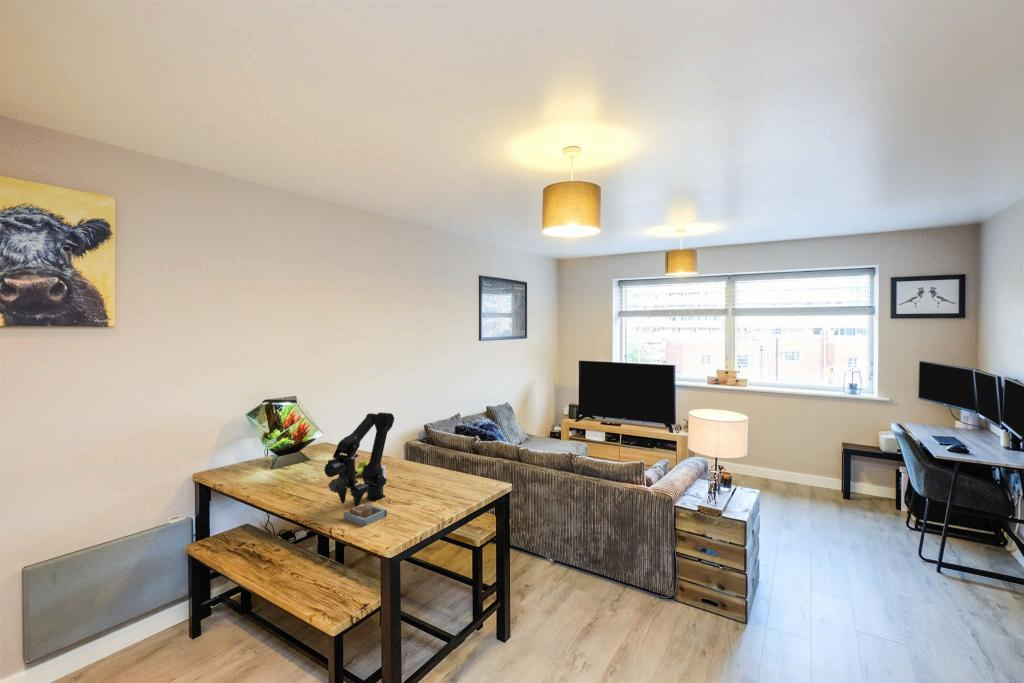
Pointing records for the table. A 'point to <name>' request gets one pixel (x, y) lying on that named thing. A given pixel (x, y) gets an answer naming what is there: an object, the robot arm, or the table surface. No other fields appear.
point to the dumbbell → (361, 467)
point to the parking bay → (365, 521)
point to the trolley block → (361, 510)
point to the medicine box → (383, 471)
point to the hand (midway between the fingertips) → (349, 505)
